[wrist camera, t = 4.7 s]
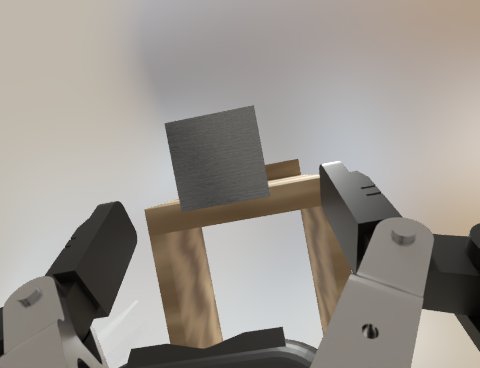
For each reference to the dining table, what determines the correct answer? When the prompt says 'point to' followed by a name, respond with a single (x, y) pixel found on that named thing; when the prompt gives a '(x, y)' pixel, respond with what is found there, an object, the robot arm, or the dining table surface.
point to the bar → (217, 159)
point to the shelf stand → (196, 263)
